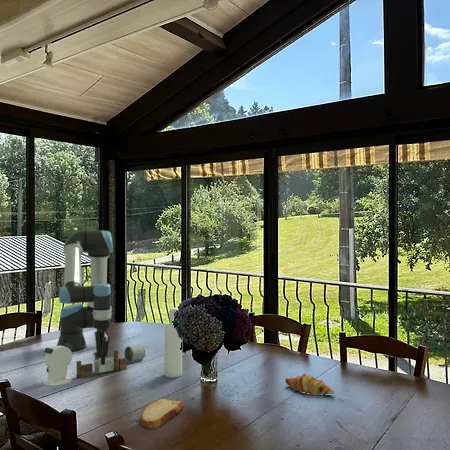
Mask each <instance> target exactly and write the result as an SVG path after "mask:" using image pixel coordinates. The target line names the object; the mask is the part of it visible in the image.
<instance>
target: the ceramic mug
mask: <svg viewBox="0 0 450 450" xmlns="http://www.w3.org/2000/svg"><path fill="white" fill-rule="evenodd" d="M145 357H146V349H145V347H144V346H143V345H140V344H138V345H137V344H136V345H130V346H126V348H125V350H124V358H126V363H133V362H137V361H142V360H143V359H145Z"/></svg>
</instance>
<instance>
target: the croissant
mask: <svg viewBox="0 0 450 450" xmlns="http://www.w3.org/2000/svg"><path fill="white" fill-rule="evenodd" d="M285 383H286V385H288V386H289V387H290V388H291V389H292V388H293V389H295V390H294V391H296V390H297V391H296V392H298V391H301V392H305V393H309V394H333V395H334V394H335V393H334V390H333V389H332V388H331V386H330V385H327V384H326V383H325V382H324V381H323V380H321V379H316V377H314V376H313V375H310V374H308V373H307V374H306V373H303V374H302V376H301V375H297V376H296V377H289V378H285ZM293 389H292V390H293ZM301 392H300V393H301ZM305 393H304V394H305Z"/></svg>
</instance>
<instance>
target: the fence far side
mask: <svg viewBox="0 0 450 450" xmlns="http://www.w3.org/2000/svg"><path fill="white" fill-rule="evenodd" d="M93 365H94V364H93V363H86V364H82V361H81V360H77V361H76V379H81V378H87V377H92V376H94V375H93V374H94V371H93V369H94V366H93Z"/></svg>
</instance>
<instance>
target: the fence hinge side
mask: <svg viewBox="0 0 450 450" xmlns="http://www.w3.org/2000/svg"><path fill="white" fill-rule="evenodd" d="M113 358H114V370H113V371H114V372H119V371H124V370H127V361H126V358H125V357H120V351H119V349H115V350H113Z"/></svg>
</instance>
